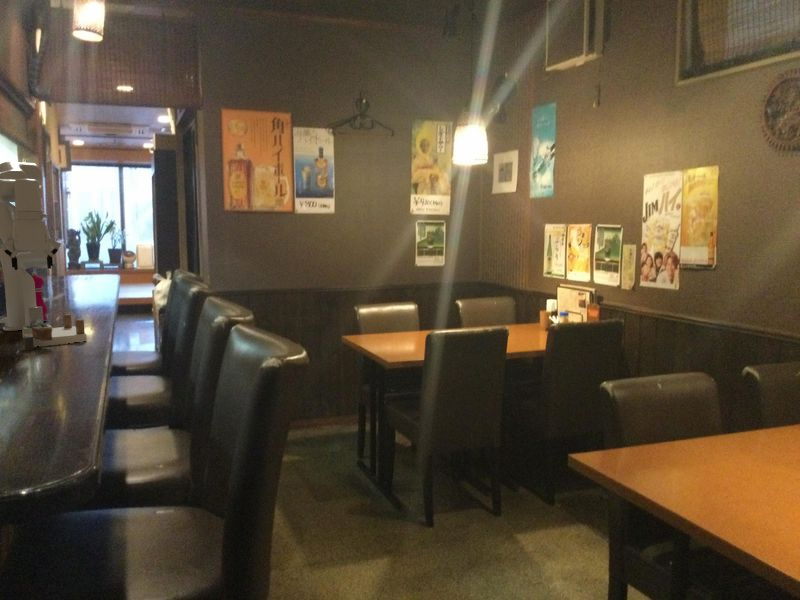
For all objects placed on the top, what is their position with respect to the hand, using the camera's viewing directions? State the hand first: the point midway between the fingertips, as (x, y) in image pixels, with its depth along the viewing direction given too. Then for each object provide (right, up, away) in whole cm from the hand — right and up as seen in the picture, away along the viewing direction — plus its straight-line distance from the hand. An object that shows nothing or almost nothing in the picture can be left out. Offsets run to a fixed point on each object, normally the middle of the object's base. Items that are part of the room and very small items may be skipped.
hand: (32, 269), depth 212 cm
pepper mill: (-22, -19, +42) cm, 51 cm away
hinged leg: (+12, -22, -15) cm, 29 cm away
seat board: (+8, -24, -4) cm, 26 cm away
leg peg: (0, -21, +2) cm, 21 cm away
